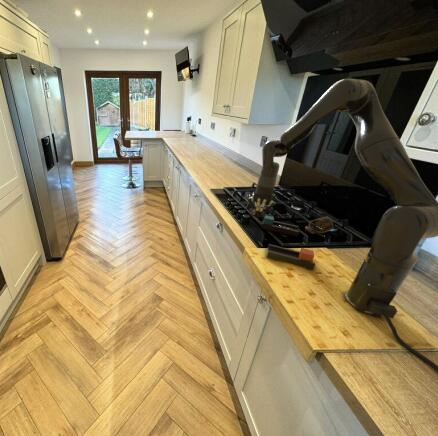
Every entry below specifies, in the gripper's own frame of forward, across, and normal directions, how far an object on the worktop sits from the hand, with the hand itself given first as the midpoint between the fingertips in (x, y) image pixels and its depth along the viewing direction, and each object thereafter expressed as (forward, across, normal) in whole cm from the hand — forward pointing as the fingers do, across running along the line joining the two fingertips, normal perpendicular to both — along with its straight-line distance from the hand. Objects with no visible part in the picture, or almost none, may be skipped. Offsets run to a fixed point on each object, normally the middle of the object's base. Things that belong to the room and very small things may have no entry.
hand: (257, 217), depth 119 cm
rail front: (+4, +15, -26) cm, 30 cm away
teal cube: (+2, +5, 0) cm, 6 cm away
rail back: (+4, +11, 0) cm, 12 cm away
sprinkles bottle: (+4, -1, +14) cm, 15 cm away
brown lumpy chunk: (+4, +27, +9) cm, 29 cm away
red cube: (+2, +20, -26) cm, 33 cm away
